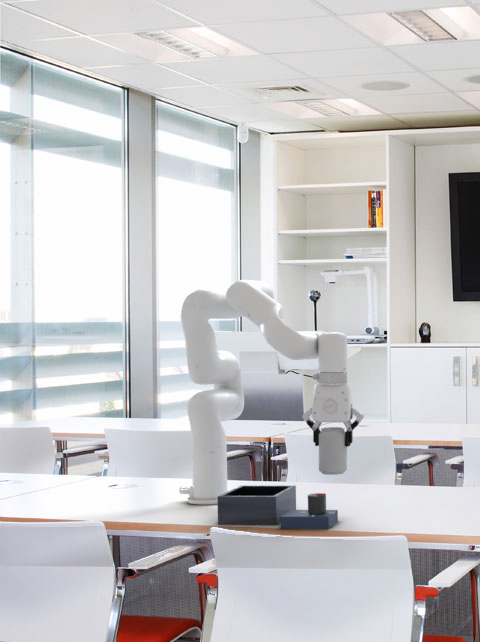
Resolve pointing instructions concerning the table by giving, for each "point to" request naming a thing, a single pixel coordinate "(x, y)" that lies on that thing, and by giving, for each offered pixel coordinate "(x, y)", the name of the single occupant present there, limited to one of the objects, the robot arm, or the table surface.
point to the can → (332, 451)
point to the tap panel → (308, 520)
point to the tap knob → (317, 503)
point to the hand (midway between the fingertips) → (332, 445)
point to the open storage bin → (255, 505)
